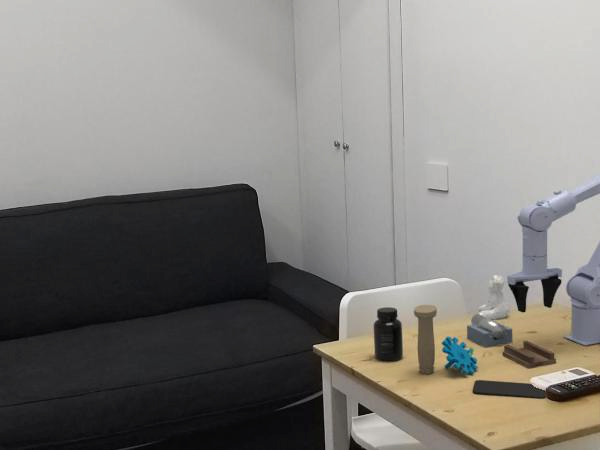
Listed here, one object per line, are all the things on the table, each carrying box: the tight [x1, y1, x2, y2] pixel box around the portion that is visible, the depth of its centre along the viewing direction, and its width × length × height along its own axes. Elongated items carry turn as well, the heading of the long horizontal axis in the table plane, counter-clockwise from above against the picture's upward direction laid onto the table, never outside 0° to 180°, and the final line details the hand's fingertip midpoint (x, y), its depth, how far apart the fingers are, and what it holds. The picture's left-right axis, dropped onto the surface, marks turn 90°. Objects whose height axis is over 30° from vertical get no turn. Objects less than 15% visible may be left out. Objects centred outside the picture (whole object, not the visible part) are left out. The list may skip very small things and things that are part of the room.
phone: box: [472, 379, 547, 400], centre depth 172 cm, size 7×1×15 cm
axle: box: [470, 313, 506, 339], centre depth 205 cm, size 10×4×4 cm, turn 21°
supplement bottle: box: [373, 306, 404, 362], centre depth 195 cm, size 7×7×12 cm
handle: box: [413, 304, 438, 375], centre depth 184 cm, size 5×6×15 cm
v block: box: [466, 320, 513, 348], centre depth 204 cm, size 8×8×4 cm
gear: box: [441, 336, 479, 375], centre depth 185 cm, size 11×6×10 cm
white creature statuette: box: [477, 274, 510, 321], centre depth 224 cm, size 10×9×12 cm
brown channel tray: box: [502, 340, 557, 369], centre depth 190 cm, size 8×10×2 cm
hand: (534, 309), depth 197 cm, fingers open, 7 cm apart
